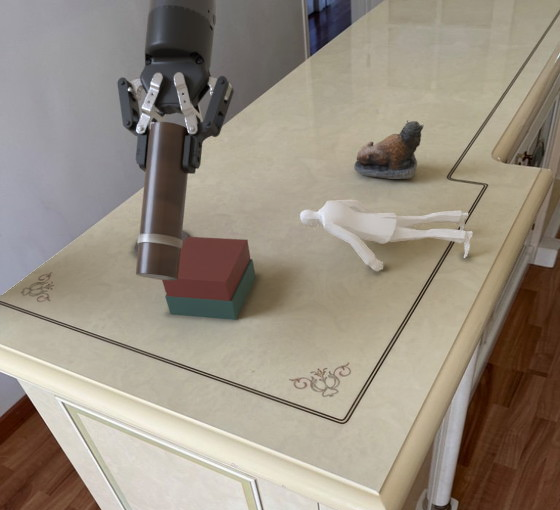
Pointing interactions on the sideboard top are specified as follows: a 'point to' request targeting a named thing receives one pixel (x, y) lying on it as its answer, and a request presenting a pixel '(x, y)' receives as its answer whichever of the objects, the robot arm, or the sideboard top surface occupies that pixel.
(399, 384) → the sideboard top surface
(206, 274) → the red and teal box
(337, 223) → the male figurine
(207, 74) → the robot arm
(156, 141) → the pepper mill
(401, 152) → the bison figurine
